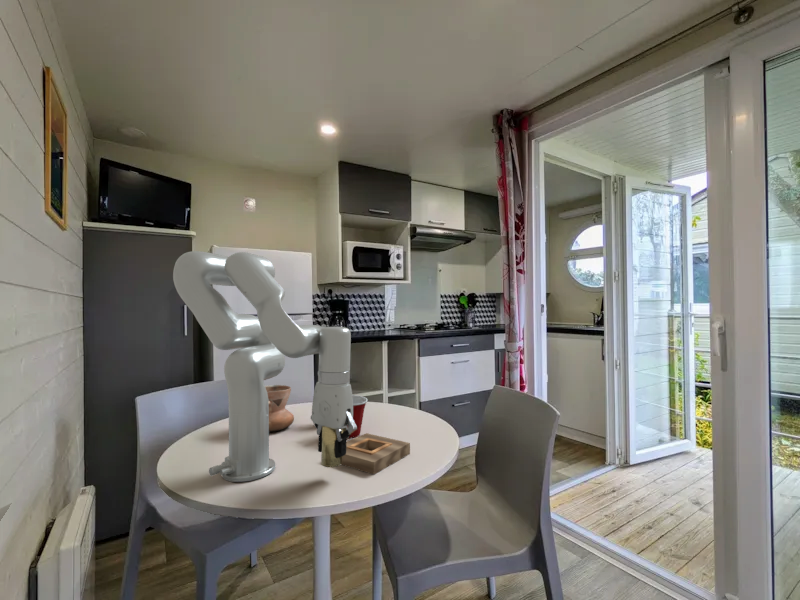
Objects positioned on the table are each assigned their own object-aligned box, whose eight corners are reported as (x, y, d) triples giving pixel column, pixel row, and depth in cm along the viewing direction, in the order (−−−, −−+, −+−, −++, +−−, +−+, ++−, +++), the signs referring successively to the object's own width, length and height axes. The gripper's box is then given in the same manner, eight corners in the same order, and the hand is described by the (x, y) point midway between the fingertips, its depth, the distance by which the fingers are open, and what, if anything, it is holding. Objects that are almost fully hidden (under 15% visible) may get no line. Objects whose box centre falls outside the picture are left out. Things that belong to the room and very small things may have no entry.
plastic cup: (351, 443, 114) (351, 403, 114) (327, 436, 121) (327, 399, 121) (375, 433, 123) (374, 397, 123) (351, 428, 129) (351, 393, 130)
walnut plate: (374, 474, 92) (374, 461, 92) (328, 460, 101) (328, 448, 101) (410, 453, 105) (409, 441, 105) (366, 443, 114) (366, 432, 114)
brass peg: (331, 469, 86) (332, 425, 87) (316, 463, 89) (318, 421, 89) (346, 462, 90) (347, 420, 91) (331, 457, 93) (333, 416, 94)
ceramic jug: (286, 436, 122) (287, 392, 123) (242, 436, 122) (242, 392, 122) (299, 421, 140) (300, 383, 141) (261, 421, 140) (261, 383, 140)
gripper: (298, 375, 92) (296, 449, 92) (349, 385, 82) (347, 467, 82) (321, 371, 98) (319, 441, 98) (371, 380, 88) (369, 457, 88)
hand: (332, 452), depth 90 cm, fingers closed on brass peg, 5 cm apart
